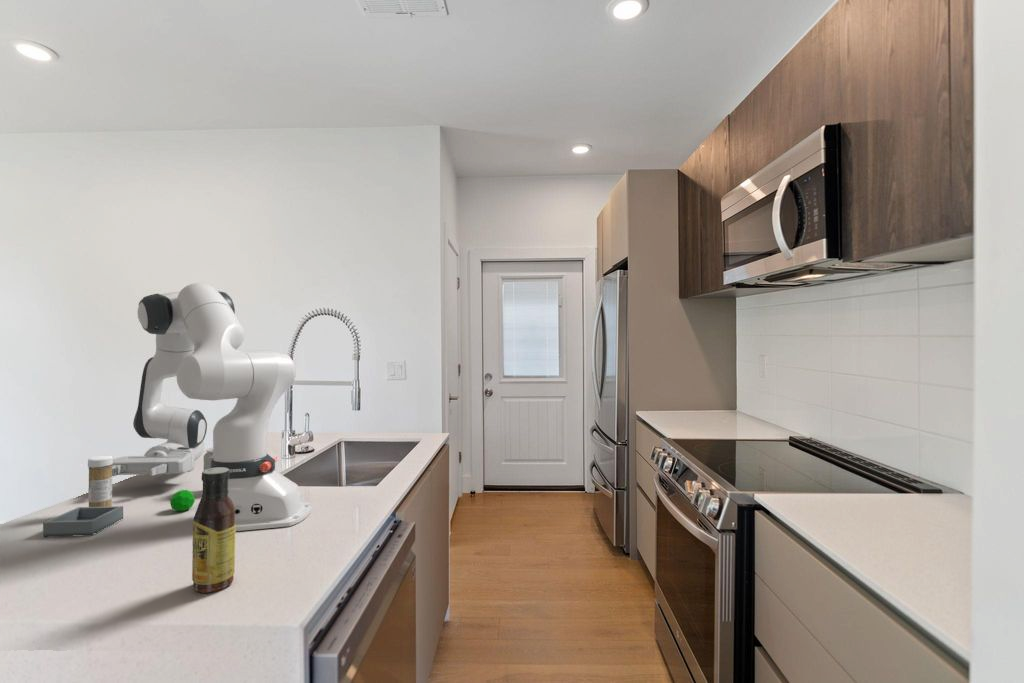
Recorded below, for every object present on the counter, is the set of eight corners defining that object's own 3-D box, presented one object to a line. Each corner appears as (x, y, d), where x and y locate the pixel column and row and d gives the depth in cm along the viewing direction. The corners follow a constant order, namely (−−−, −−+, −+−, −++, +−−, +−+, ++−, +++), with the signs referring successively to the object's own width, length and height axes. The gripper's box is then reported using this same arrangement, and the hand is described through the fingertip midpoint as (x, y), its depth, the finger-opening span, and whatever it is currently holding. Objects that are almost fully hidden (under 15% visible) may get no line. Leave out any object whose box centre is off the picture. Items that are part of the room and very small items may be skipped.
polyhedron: (166, 514, 118) (166, 494, 118) (175, 507, 123) (175, 488, 123) (189, 513, 119) (189, 493, 119) (198, 506, 124) (198, 487, 124)
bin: (123, 519, 115) (123, 506, 115) (92, 535, 106) (92, 521, 106) (78, 520, 114) (78, 507, 114) (43, 536, 105) (43, 522, 105)
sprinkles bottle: (93, 511, 120) (93, 455, 120) (116, 509, 122) (116, 454, 121) (83, 517, 116) (83, 460, 116) (107, 516, 117) (107, 458, 117)
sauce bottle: (188, 585, 85) (188, 469, 85) (228, 573, 89) (229, 462, 89) (197, 600, 80) (198, 476, 80) (240, 586, 85) (240, 469, 85)
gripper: (123, 449, 142) (86, 461, 128) (199, 448, 144) (171, 460, 130) (123, 471, 142) (86, 486, 128) (199, 470, 144) (171, 484, 130)
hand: (129, 472), depth 129 cm, fingers open, 8 cm apart
